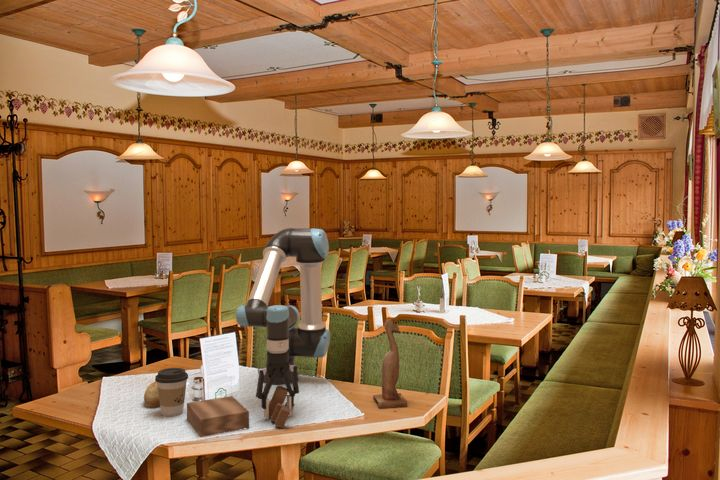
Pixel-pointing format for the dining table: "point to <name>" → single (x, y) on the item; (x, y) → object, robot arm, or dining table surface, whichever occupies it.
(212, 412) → the walnut base block
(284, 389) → the wooden block set
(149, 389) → the bread roll
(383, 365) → the bird sculpture
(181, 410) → the coffee cup
